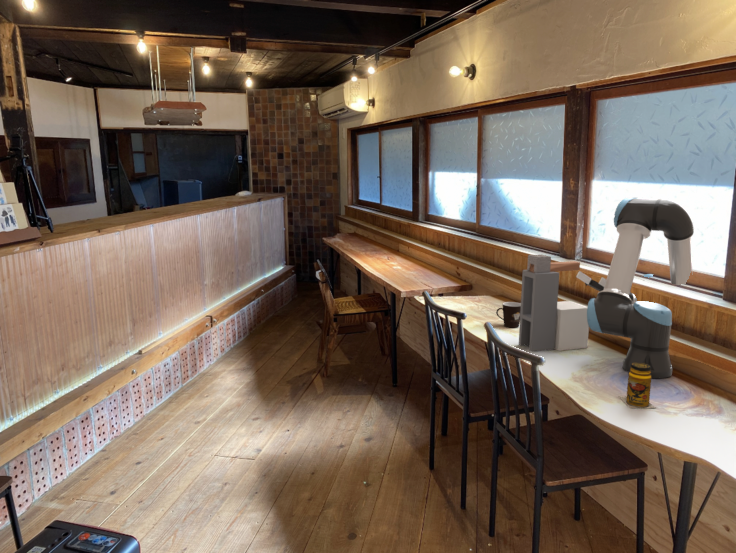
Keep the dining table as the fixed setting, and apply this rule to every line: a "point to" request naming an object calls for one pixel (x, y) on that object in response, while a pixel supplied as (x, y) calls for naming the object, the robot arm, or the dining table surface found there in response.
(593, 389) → the dining table surface
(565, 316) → the block
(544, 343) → the stand
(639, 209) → the robot arm
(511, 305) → the coffee mug
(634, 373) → the condiment
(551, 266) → the grey mallet
